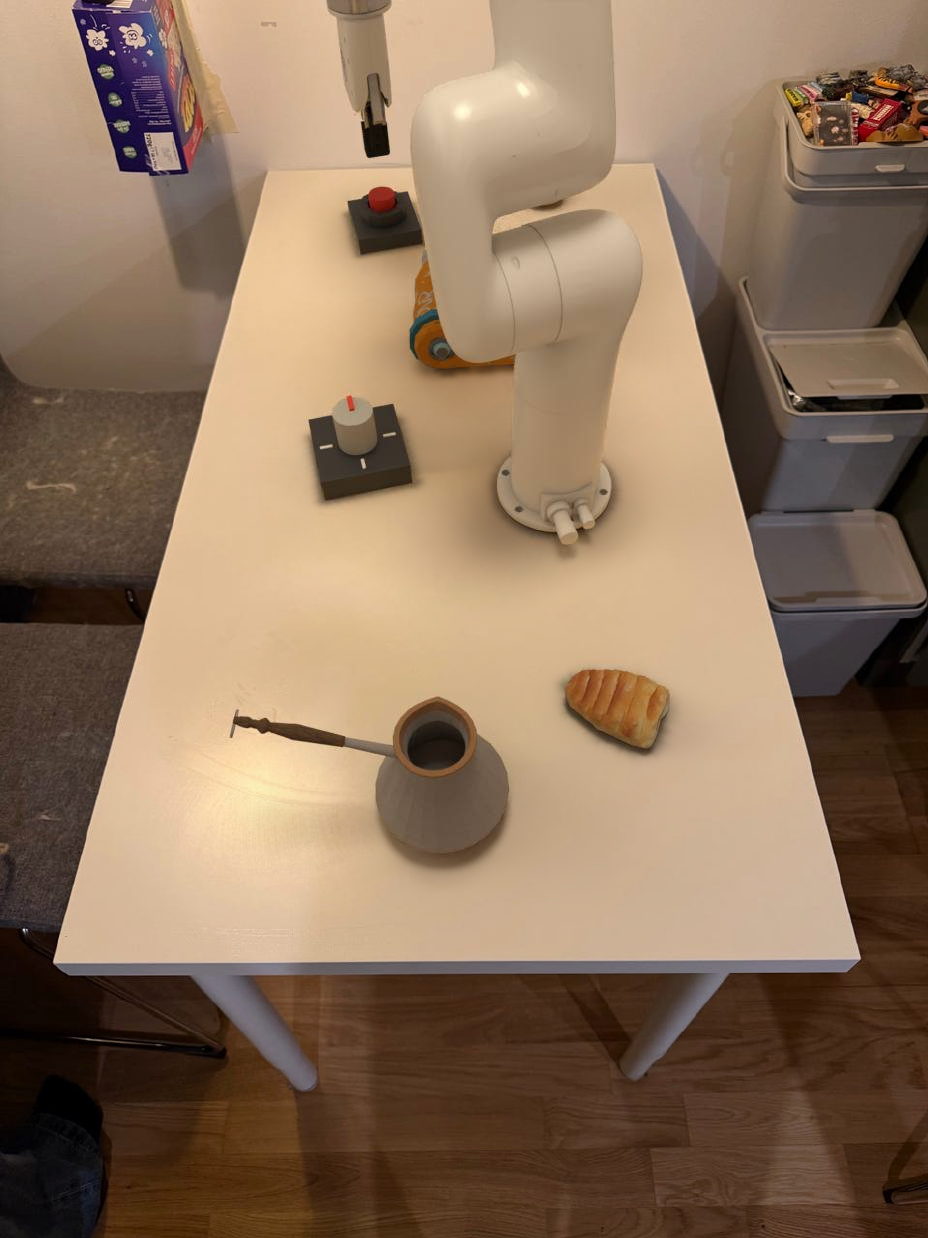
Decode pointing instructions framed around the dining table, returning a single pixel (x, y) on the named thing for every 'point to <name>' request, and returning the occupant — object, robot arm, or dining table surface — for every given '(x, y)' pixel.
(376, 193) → the power button
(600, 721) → the pastry
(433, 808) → the coffee pot
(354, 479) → the timer panel
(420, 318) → the device
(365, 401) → the timer knob
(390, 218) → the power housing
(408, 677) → the dining table surface
